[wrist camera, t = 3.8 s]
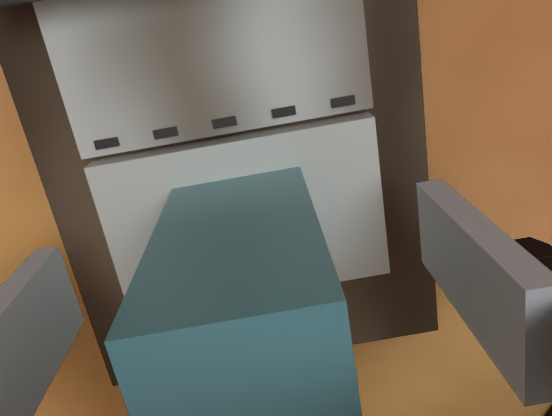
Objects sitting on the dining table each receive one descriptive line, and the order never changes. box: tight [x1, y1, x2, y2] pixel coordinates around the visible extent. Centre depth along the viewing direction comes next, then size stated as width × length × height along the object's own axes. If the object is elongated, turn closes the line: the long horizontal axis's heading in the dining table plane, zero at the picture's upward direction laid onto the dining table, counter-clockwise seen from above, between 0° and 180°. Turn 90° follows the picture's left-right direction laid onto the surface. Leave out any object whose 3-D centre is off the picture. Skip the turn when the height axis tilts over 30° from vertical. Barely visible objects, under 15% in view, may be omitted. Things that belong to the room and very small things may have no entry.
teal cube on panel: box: [84, 112, 390, 416], centre depth 15 cm, size 10×6×10 cm, turn 99°
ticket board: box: [0, 0, 438, 386], centre depth 17 cm, size 14×20×4 cm
